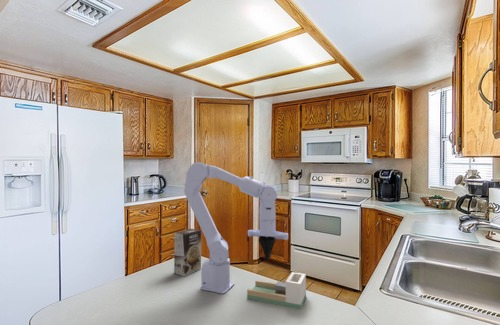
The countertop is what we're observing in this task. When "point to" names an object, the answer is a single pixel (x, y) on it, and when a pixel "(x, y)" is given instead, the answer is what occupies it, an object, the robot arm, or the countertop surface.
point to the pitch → (291, 299)
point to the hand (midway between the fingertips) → (267, 258)
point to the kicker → (280, 288)
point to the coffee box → (187, 252)
